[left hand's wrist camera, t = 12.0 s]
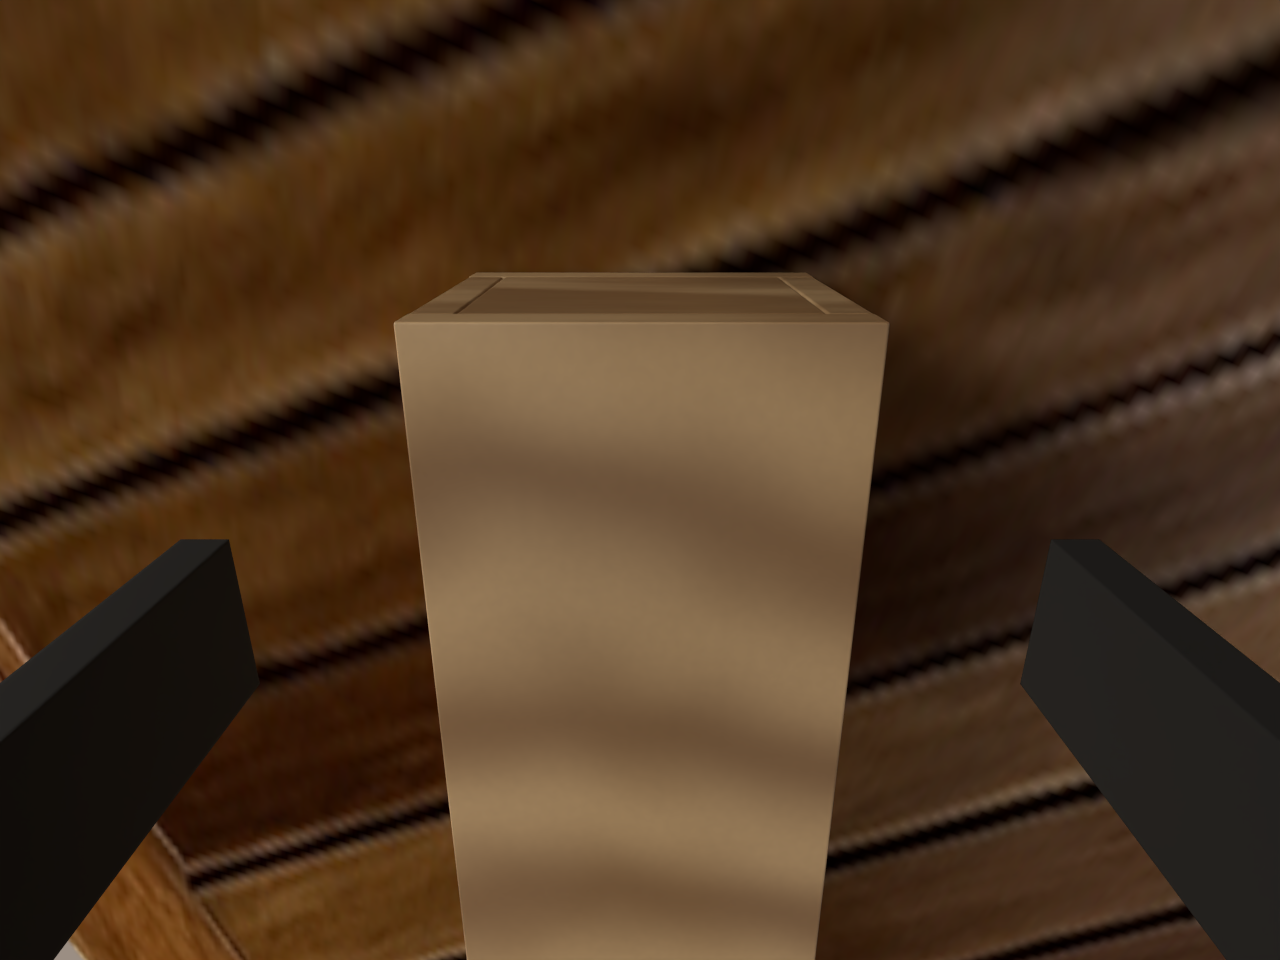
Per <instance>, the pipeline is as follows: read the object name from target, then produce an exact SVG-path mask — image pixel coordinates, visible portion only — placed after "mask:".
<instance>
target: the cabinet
mask: <svg viewBox="0 0 1280 960" xmlns="http://www.w3.org/2000/svg"><path fill="white" fill-rule="evenodd" d="M889 326H890V324H889V322H887V321H886V320H884V319H882V318H881V317H879V316H877V315H875V314H872V313H871V312H869V311H867V310H866V309H864V308H863V307H861V306H859V305H858V304H856V303H854V302H853V301H851V300H849V299H848V298H846V297H844V296H843V295H841V294H839V293H838V292H836V291H834V290H833V289H831V288H829V287H828V286H826V285H824V284H823V283H821V282H819V281H818V280H816V279H814V278H813V277H812V276H811V275H809V274H807V273H475V274H473V275H472V276H470V277H469V278H468V279H466V280H465V281H463V282H461V283H460V284H458V285H456V286H455V287H453V288H451V289H450V290H448V291H447V292H445V293H443V294H442V295H440V296H438V297H437V298H435V299H433V300H432V301H430V302H428V303H427V304H425V305H424V306H422V307H420V308H419V309H417V310H415V311H414V312H412V313H410V314H407V315H406V316H404V317H402V318H401V319H399V320H397V321H396V322H394V331H395V339H396V348H397V357H398V365H399V374H400V383H401V391H402V400H403V409H404V417H405V426H406V435H407V443H408V452H409V461H410V470H411V478H412V487H413V496H414V504H415V513H416V522H417V530H418V539H419V548H420V556H421V565H422V574H423V582H424V591H425V600H426V608H427V617H428V626H429V635H430V643H431V652H432V661H433V669H434V678H435V687H436V695H437V704H438V713H439V721H440V730H441V739H442V747H443V756H444V765H445V773H446V782H447V791H448V800H449V808H450V817H451V826H452V834H453V843H454V852H455V860H456V869H457V878H458V886H459V895H460V904H461V912H462V921H463V930H464V938H465V947H466V956H467V960H815V955H816V946H817V938H818V929H819V921H820V912H821V904H822V895H823V887H824V878H825V870H826V861H827V853H828V844H829V836H830V827H831V819H832V810H833V802H834V793H835V785H836V776H837V768H838V759H839V751H840V742H841V734H842V725H843V717H844V708H845V700H846V691H847V683H848V674H849V666H850V657H851V649H852V640H853V632H854V623H855V615H856V606H857V598H858V589H859V581H860V572H861V564H862V555H863V547H864V538H865V530H866V521H867V513H868V504H869V496H870V487H871V479H872V470H873V462H874V453H875V445H876V436H877V428H878V419H879V411H880V402H881V394H882V385H883V377H884V368H885V360H886V351H887V343H888V334H889Z"/></svg>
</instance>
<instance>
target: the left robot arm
mask: <svg viewBox="0 0 1280 960" xmlns="http://www.w3.org/2000/svg"><path fill="white" fill-rule="evenodd" d="M259 684H260V683H259V678H258V674H257V669H256V664H255V660H254V655H253V650H252V646H251V641H250V636H249V632H248V627H247V622H246V618H245V613H244V608H243V604H242V599H241V594H240V590H239V585H238V580H237V576H236V571H235V566H234V562H233V557H232V552H231V548H230V543H229V540H180V541H178V542H177V543H176V544H175V545H173V546H172V547H171V548H170V549H168V550H167V551H166V552H164V553H163V554H162V555H161V556H159V557H158V558H157V559H156V560H154V561H153V562H152V563H151V564H149V565H148V566H147V567H146V568H144V569H143V570H142V571H141V572H139V573H138V574H137V575H136V576H134V577H133V578H132V579H131V580H129V581H128V582H127V583H125V584H124V585H123V586H122V587H120V588H119V589H118V590H117V591H115V592H114V593H113V594H112V595H110V596H109V597H108V598H107V599H105V600H104V601H103V602H102V603H100V604H99V605H98V606H97V607H95V608H94V609H93V610H92V611H90V612H89V613H88V614H87V615H85V616H84V617H83V618H81V619H80V620H79V621H78V622H76V623H75V624H74V625H73V626H71V627H70V628H69V629H68V630H66V631H65V632H64V633H63V634H61V635H60V636H59V637H58V638H56V639H55V640H54V641H53V642H51V643H50V644H49V645H48V646H46V647H45V648H44V649H42V650H41V651H40V652H39V653H37V654H36V655H35V656H34V657H32V658H31V659H30V660H29V661H27V662H26V663H25V664H24V665H22V666H21V667H20V668H19V669H17V670H16V671H15V672H14V673H12V674H11V675H10V676H9V677H7V678H6V679H5V680H3V681H2V682H1V683H0V960H54V958H55V957H56V956H57V954H58V953H59V952H60V950H61V949H62V948H63V946H64V945H65V944H66V942H67V941H68V940H69V938H70V937H71V936H72V934H73V933H74V932H75V930H76V929H77V928H78V926H79V925H80V924H81V922H82V921H83V920H84V918H85V917H86V916H87V914H88V913H89V912H90V910H91V909H92V908H93V906H94V905H95V904H96V902H97V901H98V900H99V898H100V897H101V896H102V894H103V893H104V892H105V890H106V889H107V888H108V886H109V885H110V884H111V882H112V881H113V880H114V878H115V877H116V875H117V874H118V873H119V871H120V870H121V869H122V867H123V866H124V865H125V863H126V862H127V861H128V859H129V858H130V857H131V855H132V854H133V853H134V851H135V850H136V849H137V847H138V846H139V845H140V843H141V842H142V841H143V839H144V838H145V837H146V835H147V834H148V833H149V831H150V830H151V829H152V827H153V826H154V825H155V823H156V822H157V821H158V819H159V818H160V817H161V815H162V814H163V813H164V811H165V810H166V809H167V807H168V806H169V805H170V803H171V802H172V801H173V799H174V798H175V796H176V795H177V794H178V792H179V791H180V790H181V788H182V787H183V786H184V784H185V783H186V782H187V780H188V779H189V778H190V776H191V775H192V774H193V772H194V771H195V770H196V768H197V767H198V766H199V764H200V763H201V762H202V760H203V759H204V758H205V756H206V755H207V754H208V752H209V751H210V750H211V748H212V747H213V746H214V744H215V743H216V742H217V740H218V739H219V738H220V736H221V735H222V734H223V732H224V731H225V730H226V728H227V727H228V726H229V724H230V723H231V722H232V720H233V719H234V717H235V716H236V715H237V713H238V712H239V711H240V709H241V708H242V707H243V705H244V704H245V703H246V701H247V700H248V699H249V697H250V696H251V695H252V693H253V692H254V691H255V689H256V688H257V687H258V685H259ZM1020 684H1021V685H1022V687H1023V688H1024V689H1025V691H1026V692H1027V693H1028V695H1029V696H1030V697H1031V699H1032V700H1033V701H1034V703H1035V704H1036V705H1037V707H1038V708H1039V709H1040V711H1041V712H1042V713H1043V715H1044V716H1045V717H1046V719H1047V720H1048V722H1049V723H1050V724H1051V726H1052V727H1053V728H1054V730H1055V731H1056V732H1057V734H1058V735H1059V736H1060V738H1061V739H1062V740H1063V742H1064V743H1065V744H1066V746H1067V747H1068V748H1069V750H1070V751H1071V752H1072V754H1073V755H1074V756H1075V758H1076V759H1077V760H1078V762H1079V763H1080V764H1081V766H1082V767H1083V768H1084V770H1085V771H1086V772H1087V774H1088V775H1089V776H1090V778H1091V779H1092V780H1093V782H1094V783H1095V784H1096V786H1097V787H1098V788H1099V790H1100V791H1101V792H1102V794H1103V795H1104V796H1105V798H1106V799H1107V801H1108V802H1109V803H1110V805H1111V806H1112V807H1113V809H1114V810H1115V811H1116V813H1117V814H1118V815H1119V817H1120V818H1121V819H1122V821H1123V822H1124V823H1125V825H1126V826H1127V827H1128V829H1129V830H1130V831H1131V833H1132V834H1133V835H1134V837H1135V838H1136V839H1137V841H1138V842H1139V843H1140V845H1141V846H1142V847H1143V849H1144V850H1145V851H1146V853H1147V854H1148V855H1149V857H1150V858H1151V859H1152V861H1153V862H1154V863H1155V865H1156V866H1157V867H1158V869H1159V870H1160V871H1161V873H1162V874H1163V875H1164V877H1165V878H1166V880H1167V881H1168V882H1169V884H1170V885H1171V886H1172V888H1173V889H1174V890H1175V892H1176V893H1177V894H1178V896H1179V897H1180V898H1181V900H1182V901H1183V902H1184V904H1185V905H1186V906H1187V908H1188V909H1189V910H1190V912H1191V913H1192V914H1193V916H1194V917H1195V918H1196V920H1197V921H1198V922H1199V924H1200V925H1201V926H1202V928H1203V929H1204V930H1205V932H1206V933H1207V934H1208V936H1209V937H1210V938H1211V940H1212V941H1213V942H1214V944H1215V945H1216V946H1217V948H1218V949H1219V950H1220V952H1221V953H1222V954H1223V956H1224V957H1225V959H1226V960H1280V683H1279V682H1278V681H1277V680H1275V679H1274V678H1273V677H1271V676H1270V675H1269V674H1268V673H1266V672H1265V671H1264V670H1263V669H1261V668H1260V667H1259V666H1258V665H1256V664H1255V663H1254V662H1253V661H1251V660H1250V659H1249V658H1248V657H1246V656H1245V655H1244V654H1243V653H1241V652H1240V651H1239V650H1238V649H1236V648H1235V647H1234V646H1232V645H1231V644H1230V643H1229V642H1227V641H1226V640H1225V639H1224V638H1222V637H1221V636H1220V635H1219V634H1217V633H1216V632H1215V631H1214V630H1212V629H1211V628H1210V627H1209V626H1207V625H1206V624H1205V623H1204V622H1202V621H1201V620H1200V619H1199V618H1197V617H1196V616H1195V615H1193V614H1192V613H1191V612H1190V611H1188V610H1187V609H1186V608H1185V607H1183V606H1182V605H1181V604H1180V603H1178V602H1177V601H1176V600H1175V599H1173V598H1172V597H1171V596H1170V595H1168V594H1167V593H1166V592H1165V591H1163V590H1162V589H1161V588H1160V587H1158V586H1157V585H1156V584H1154V583H1153V582H1152V581H1151V580H1149V579H1148V578H1147V577H1146V576H1144V575H1143V574H1142V573H1141V572H1139V571H1138V570H1137V569H1136V568H1134V567H1133V566H1132V565H1131V564H1129V563H1128V562H1127V561H1126V560H1124V559H1123V558H1122V557H1121V556H1119V555H1118V554H1117V553H1116V552H1114V551H1113V550H1112V549H1110V548H1109V547H1108V546H1107V545H1105V544H1104V543H1103V542H1102V541H1100V540H1051V543H1050V548H1049V552H1048V557H1047V562H1046V566H1045V571H1044V576H1043V580H1042V585H1041V590H1040V594H1039V599H1038V604H1037V608H1036V613H1035V618H1034V622H1033V627H1032V632H1031V636H1030V641H1029V646H1028V650H1027V655H1026V660H1025V664H1024V669H1023V674H1022V678H1021V683H1020Z"/></svg>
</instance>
